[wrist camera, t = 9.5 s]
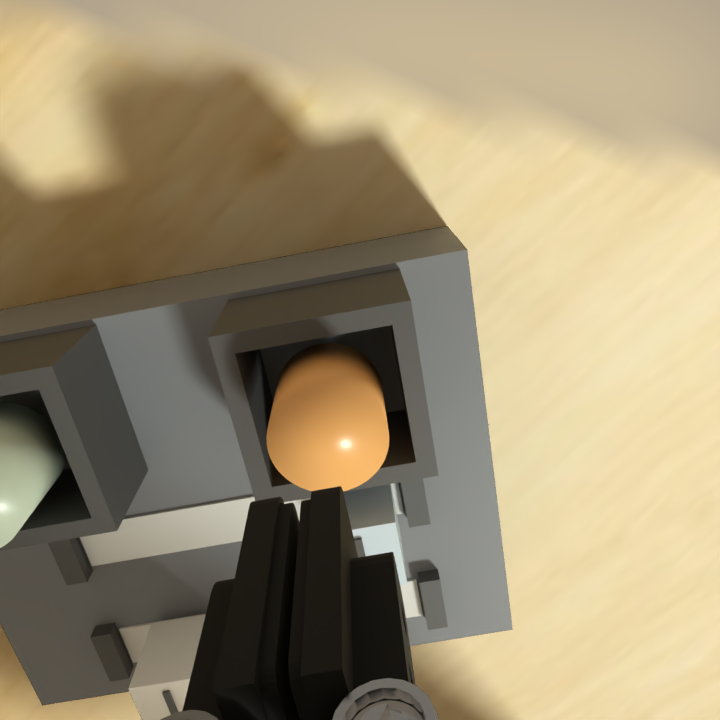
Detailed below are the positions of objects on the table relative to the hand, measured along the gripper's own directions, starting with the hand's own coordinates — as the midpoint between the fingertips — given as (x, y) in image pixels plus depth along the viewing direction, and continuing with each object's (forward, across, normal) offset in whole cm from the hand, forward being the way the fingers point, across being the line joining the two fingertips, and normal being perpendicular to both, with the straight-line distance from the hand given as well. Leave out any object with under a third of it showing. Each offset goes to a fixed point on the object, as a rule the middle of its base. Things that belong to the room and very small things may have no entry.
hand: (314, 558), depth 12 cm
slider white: (+10, +8, +11) cm, 17 cm away
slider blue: (+10, 0, +6) cm, 12 cm away
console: (+14, +5, +6) cm, 16 cm away
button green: (+8, +10, +1) cm, 13 cm away
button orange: (+8, 0, +1) cm, 8 cm away
